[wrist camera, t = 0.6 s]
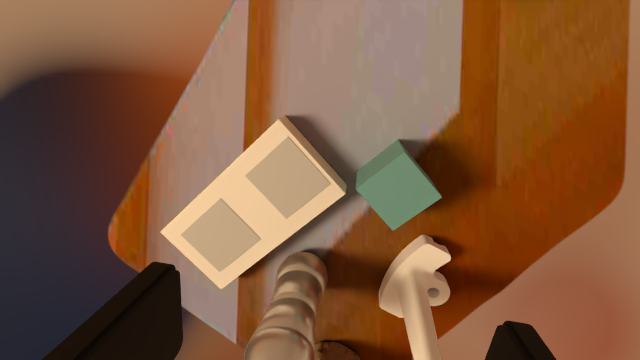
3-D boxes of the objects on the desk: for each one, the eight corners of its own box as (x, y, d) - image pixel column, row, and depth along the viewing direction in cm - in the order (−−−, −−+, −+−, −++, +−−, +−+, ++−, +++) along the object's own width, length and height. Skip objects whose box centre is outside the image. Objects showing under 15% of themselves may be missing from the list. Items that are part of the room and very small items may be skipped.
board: (285, 115, 35) (278, 119, 33) (346, 184, 37) (345, 194, 34) (173, 221, 42) (159, 232, 39) (230, 275, 44) (220, 289, 41)
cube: (397, 139, 35) (404, 151, 29) (429, 177, 36) (442, 197, 30) (356, 171, 37) (355, 189, 31) (388, 207, 38) (392, 230, 32)
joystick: (415, 229, 38) (467, 381, 19) (468, 257, 38) (570, 433, 20) (371, 292, 42) (377, 468, 23) (419, 316, 42) (464, 510, 23)
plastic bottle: (273, 255, 42) (201, 402, 23) (316, 238, 40) (275, 381, 22) (296, 291, 44) (245, 456, 25) (338, 276, 42) (318, 441, 23)
